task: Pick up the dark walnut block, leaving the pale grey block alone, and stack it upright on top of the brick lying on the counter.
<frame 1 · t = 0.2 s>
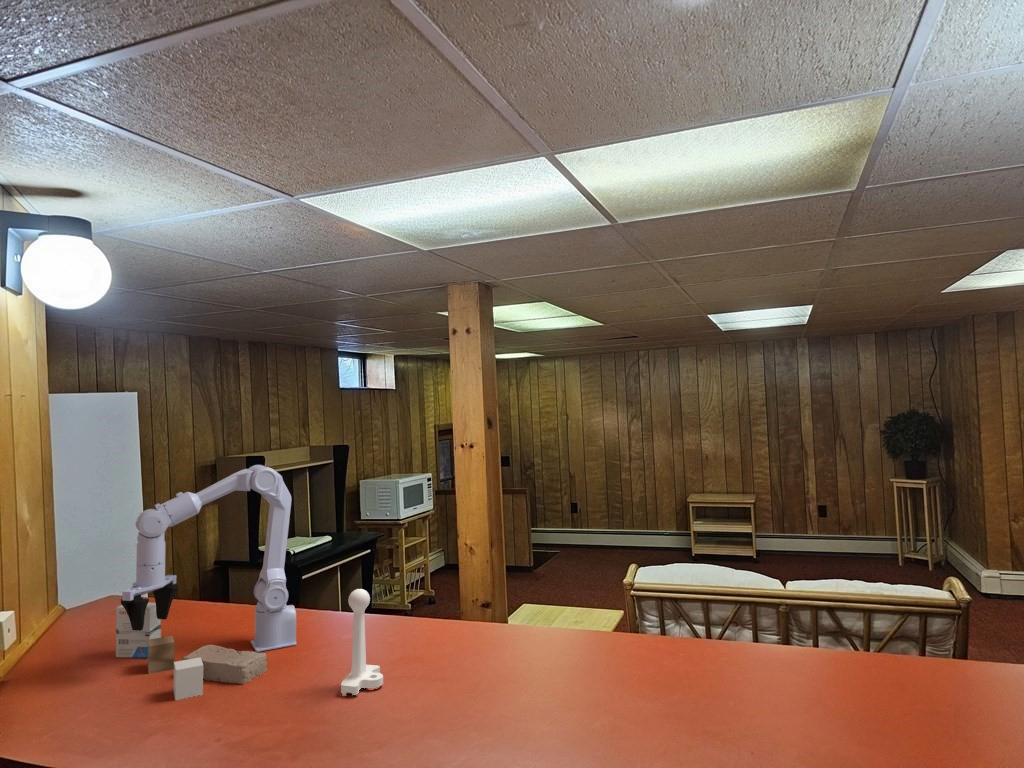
hand: (150, 624, 148), 10 cm above the counter, tool pointing down, fingers open, 7 cm apart
ink box: (138, 655, 156), on the counter
walnut block: (160, 668, 147), on the counter
brick: (225, 675, 144), on the counter
joystick: (365, 687, 137), on the counter
grey block: (188, 693, 134), on the counter
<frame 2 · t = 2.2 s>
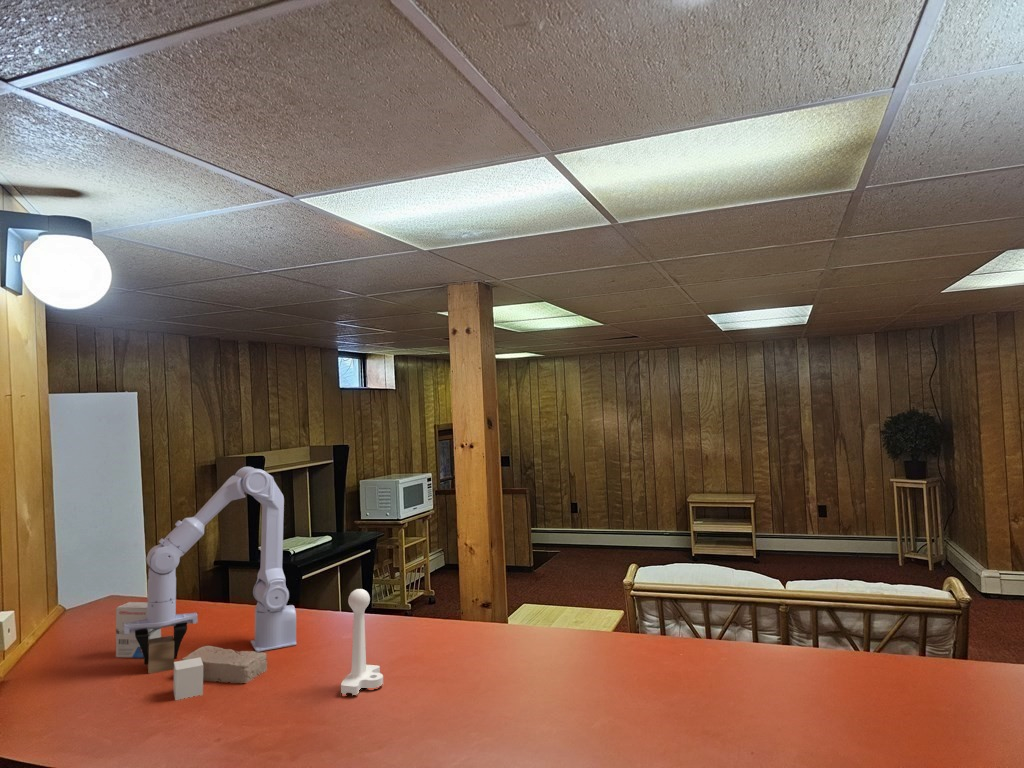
hand: (160, 660, 148), 2 cm above the counter, tool pointing down, fingers closed on walnut block, 5 cm apart
walnut block: (160, 667, 147), on the counter, touching gripper
everything else where it was.
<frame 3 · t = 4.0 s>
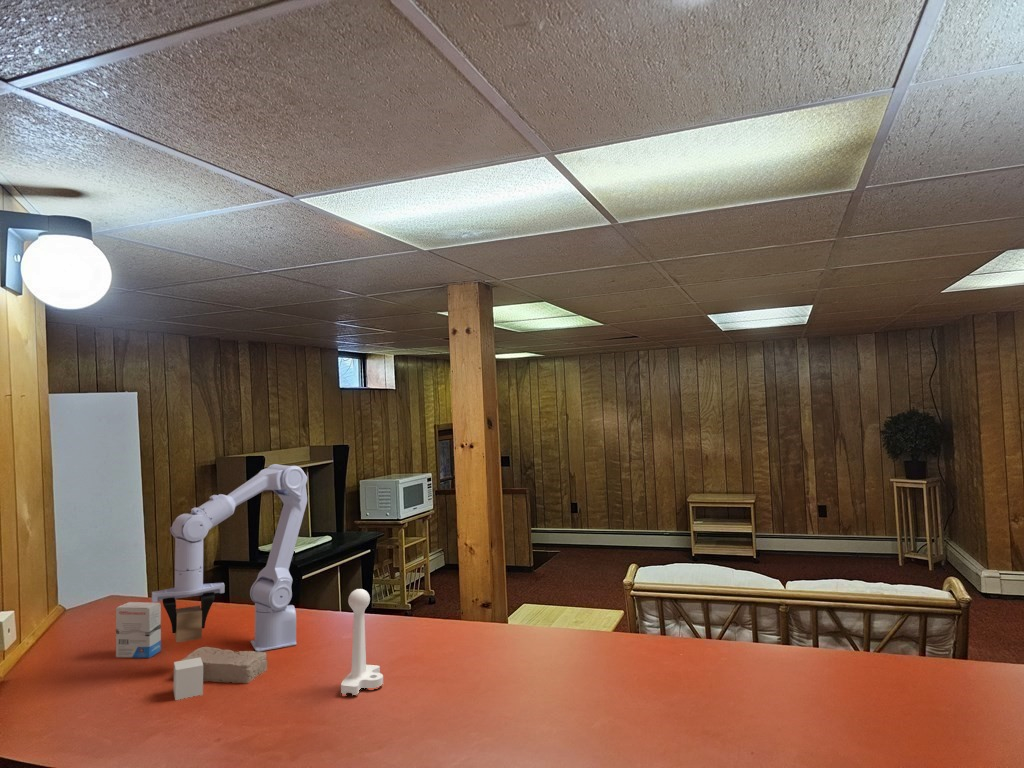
hand: (188, 629, 147), 9 cm above the counter, tool pointing down, fingers closed on walnut block, 5 cm apart
walnut block: (188, 637, 147), point 7 cm above the counter, touching gripper
everything else where it was.
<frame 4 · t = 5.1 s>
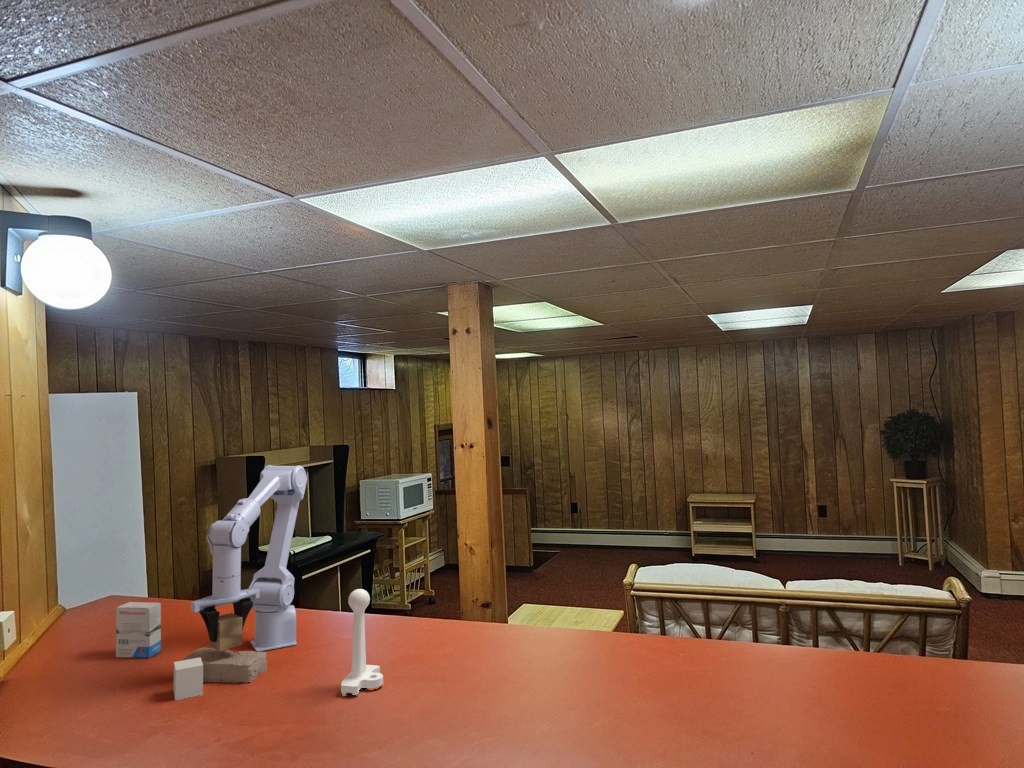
hand: (225, 637, 145), 8 cm above the counter, tool pointing down, fingers closed on walnut block, 5 cm apart
walnut block: (225, 645, 145), point 6 cm above the counter, touching gripper
when the fingers open (8 cm above the counter, at t = 6.0 s): walnut block drops 2 cm, resting on brick.
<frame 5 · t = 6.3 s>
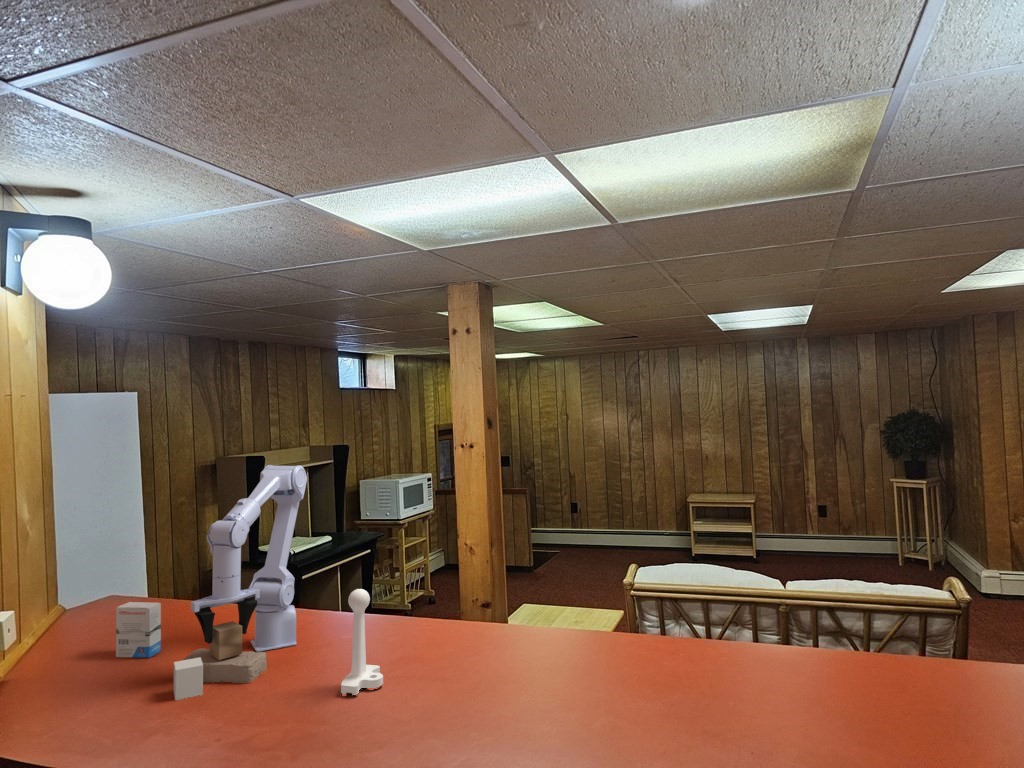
hand: (225, 637, 145), 8 cm above the counter, tool pointing down, fingers open, 7 cm apart
walnut block: (225, 653, 144), point 4 cm above the counter, touching brick
brick: (223, 677, 143), on the counter, touching walnut block
everything else where it was.
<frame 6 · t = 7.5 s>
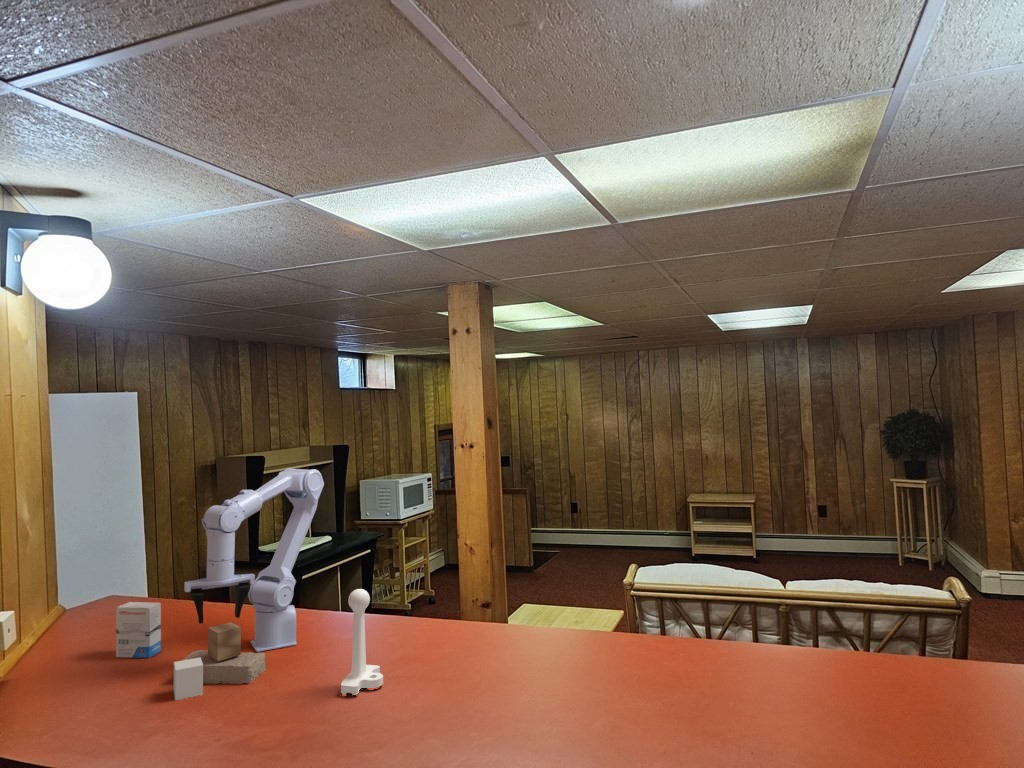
hand: (219, 619, 149), 10 cm above the counter, tool pointing down, fingers open, 7 cm apart
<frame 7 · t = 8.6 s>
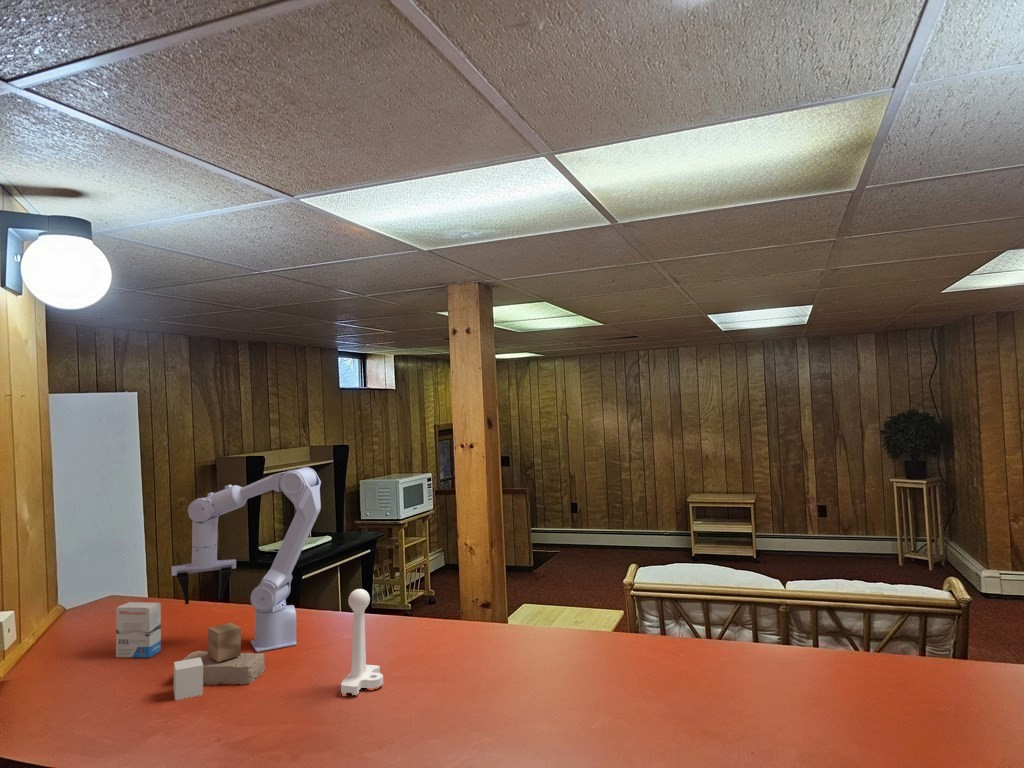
hand: (203, 600, 163), 10 cm above the counter, tool pointing down, fingers open, 7 cm apart
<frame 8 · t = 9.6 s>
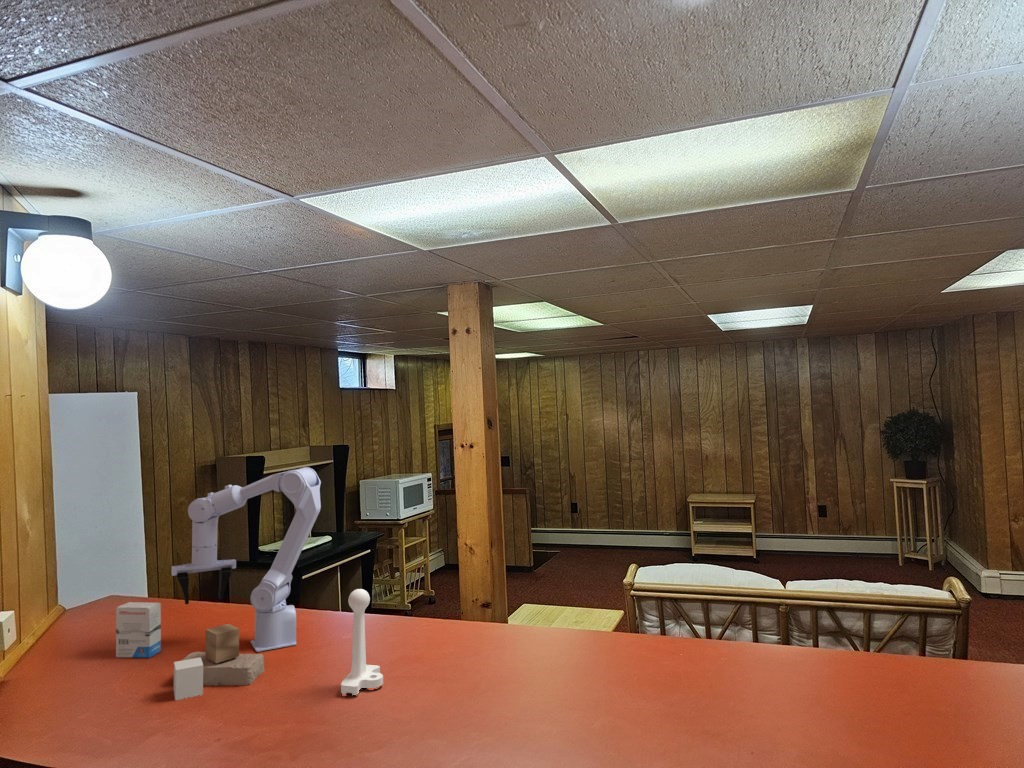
hand: (203, 600, 163), 10 cm above the counter, tool pointing down, fingers open, 7 cm apart
at the end: walnut block inside the target area on the brick (0.4 cm from its centre), point 4.9 cm above the brick's base; walnut block tilted 0°; walnut block touching brick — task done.
